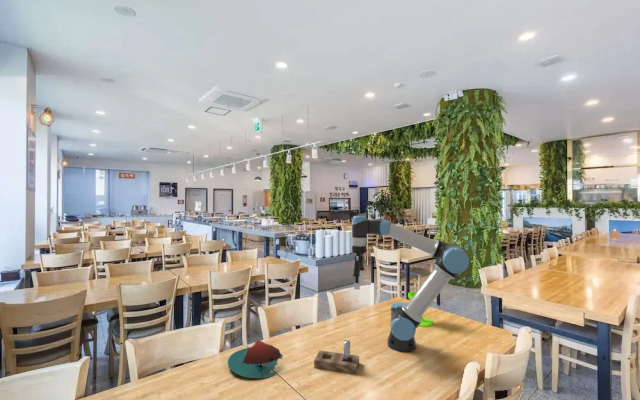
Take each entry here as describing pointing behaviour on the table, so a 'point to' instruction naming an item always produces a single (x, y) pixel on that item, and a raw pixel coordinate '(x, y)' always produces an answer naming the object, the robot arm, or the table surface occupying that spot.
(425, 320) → the wineglass
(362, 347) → the table surface
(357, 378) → the table surface
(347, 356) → the peg
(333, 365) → the socket block
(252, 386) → the table surface
